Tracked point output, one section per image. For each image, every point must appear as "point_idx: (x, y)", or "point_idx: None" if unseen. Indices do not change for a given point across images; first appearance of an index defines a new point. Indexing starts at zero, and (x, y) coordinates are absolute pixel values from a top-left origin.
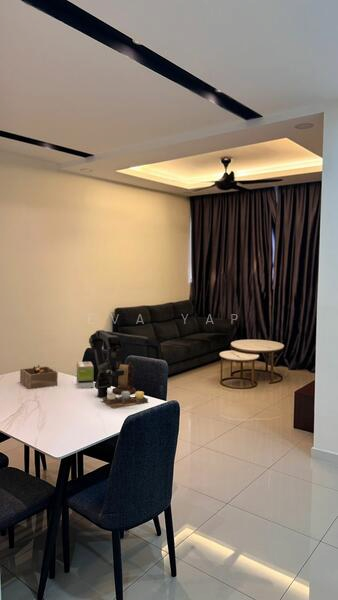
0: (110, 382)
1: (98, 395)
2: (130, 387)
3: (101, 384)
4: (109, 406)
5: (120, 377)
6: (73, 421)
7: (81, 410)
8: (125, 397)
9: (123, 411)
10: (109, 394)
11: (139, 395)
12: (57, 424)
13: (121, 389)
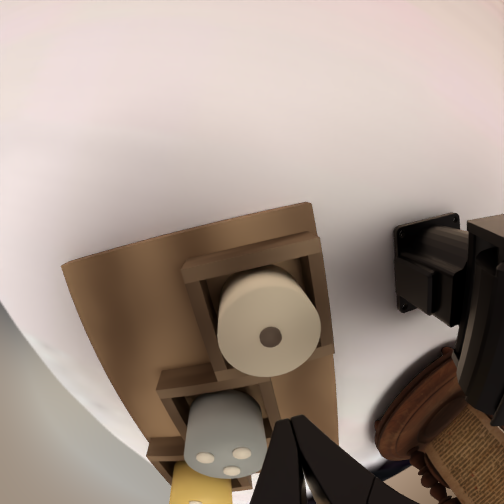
0: (309, 445)
1: (440, 228)
2: (416, 453)
3: (483, 271)
4: (120, 250)
5: (491, 446)
6: (13, 16)
7: (158, 23)
8: (188, 424)
9: (58, 325)
10: (283, 316)
11: (171, 490)
12: None
13: (442, 405)
